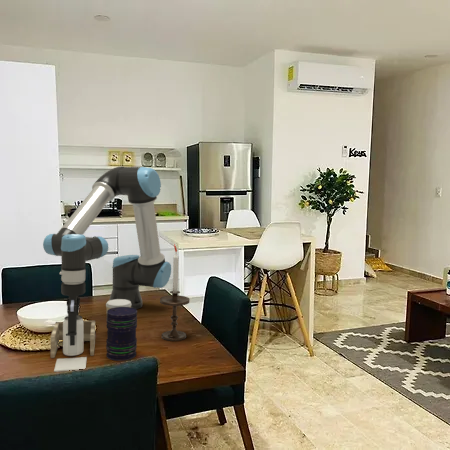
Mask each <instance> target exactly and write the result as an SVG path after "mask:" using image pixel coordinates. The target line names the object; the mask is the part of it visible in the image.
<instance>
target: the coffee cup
mask: <svg viewBox="0 0 450 450" xmlns="http://www.w3.org/2000/svg"><path fill="white" fill-rule="evenodd" d="M131 305H132V304H131V302H130V301H129V300H125V299H114V300H110V301H109V300H108V301H107V302H106V303H105V308H106V313H107V310H109V309H111V308H115V307H131Z"/></svg>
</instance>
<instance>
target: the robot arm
mask: <svg viewBox="0 0 450 450" xmlns="http://www.w3.org/2000/svg"><path fill="white" fill-rule="evenodd" d="M161 187H162V183H161V178H160V175H159V173H158V172H157V170H155V169H154V168H152V167H146V166H117V167H113V168H111V169H109V170H108V171H106V172H105V173H103V174H101V176H99V178H97V180H96V181H94V183H93V184H92V186H91V188H92V189H91V190H90V192H89V193H88V194H87V196H86V197H85V198H84V199H83V201H82V202H81V203H80V205H79V206H78V207H77V208H76V209H75V211H74V212H73V213H72V214H71V216H70V217H69V218H68V219H67V220H66V222H65V223H64V224H63V225H62V227H61V228H60V229H59V231H58V232H57V233H49V234H48V235H46V236H44V237H45V238H44V240H43V243H42V247H43V250H44V252H45V253H46V254H47V255H51V256H55V257H61V271H60V272H59V275H61V276H60V277H61V278H60V280H61V281H62V282H61V285H60V286H61V287H60V289H61V292H60V293H61V294H62V295H63V296H68V297H67V300H66V307H67V308H66V309H67V310H66V313H67V316H68V334H66V336H68V355H72V354H77V332H76V330H77V315H79V312H80V311H79V310H80V303H81V297H80V296H82V295H84V294H85V293H86V282H85V281H86V280H87V279H86V276H87V273H86V271H87V270H86V269H87V267H86V263H87V262H88V261H92V260H97V259H100V258H102V257H104V256H106V255H107V254H108V252H109V243H108V241H107V240H106V238H104V237H103V236H99V235H98V236H95V235H94V236H91V237H89V236H86V235H85V233H86V231H87V230H88V229H89V228H90V226H91V225H92V223H93V222H94V220H95V219H96V218H97V217H98V215H99V214H100V213H101V212H102V210H103V209H104V207H105V206H106V205H107V203H109V202H111V201H113V200H114V199H115V198H116V197H117V196H126V197H127V200H128V201H127V202H128V203H129V204H131V205H132V209H133V214H134V221H135V227H136V228H135V229H136V233H137V241H138V247H139V253H140V255H138V254H129V255H120V256H117V257H115V258H114V259H113V260H112V290H111V293H110V296H109V299H108V301H110V300H114V299H125V300H129V301H130V302H131V304H132V305H131V308H135V309H136V310H138V309H140V308H142V307H143V299H142V295H141V292H140V286H142V287H149V288H154V289H155V288H156V289H157V288H159V289H160V288H161V289H162V288H164V287H165V286H167V284H168V283H169V281H170V278H171V274H172V264H171V262H168V261H166V259H165V255H164V254H163V253H162V252H161V247H160V240H159V233H158V224H157V215H156V210H155V201H156V200H157V199H158V196H159V194H160V192H161Z"/></svg>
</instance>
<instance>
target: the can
mask: <svg viewBox="0 0 450 450" xmlns="http://www.w3.org/2000/svg"><path fill="white" fill-rule="evenodd" d="M83 321H84V320H83V316H82V315H79V314H78V315H77V330H76V332H77V354H72V355H68V336H66V334H68V315H67V316H65V317H64V320H63V321H62V322H63V342H62V353H63V355H64V356H66V357H67V356H68V357H77V356H79V355H81V354H83V352H84V342H85V341H84V322H83Z"/></svg>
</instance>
